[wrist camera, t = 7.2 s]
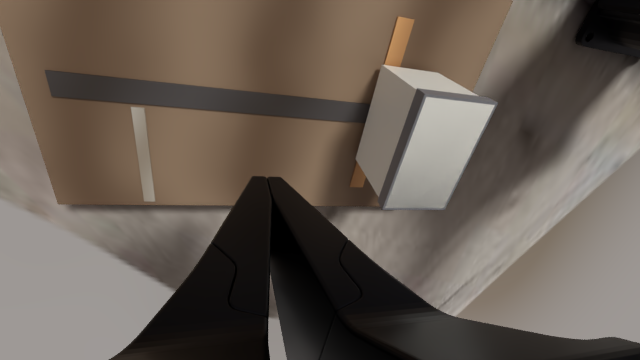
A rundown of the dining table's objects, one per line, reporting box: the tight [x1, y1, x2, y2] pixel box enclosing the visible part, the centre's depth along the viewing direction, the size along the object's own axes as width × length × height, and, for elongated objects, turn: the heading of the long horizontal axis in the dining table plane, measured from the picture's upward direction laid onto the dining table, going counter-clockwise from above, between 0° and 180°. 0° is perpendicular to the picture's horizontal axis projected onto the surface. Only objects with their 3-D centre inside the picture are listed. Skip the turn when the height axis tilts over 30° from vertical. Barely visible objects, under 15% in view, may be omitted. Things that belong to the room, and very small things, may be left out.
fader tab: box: [356, 65, 498, 210], centre depth 15 cm, size 3×5×4 cm, turn 169°
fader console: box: [0, 0, 513, 206], centre depth 16 cm, size 20×12×2 cm, turn 79°
